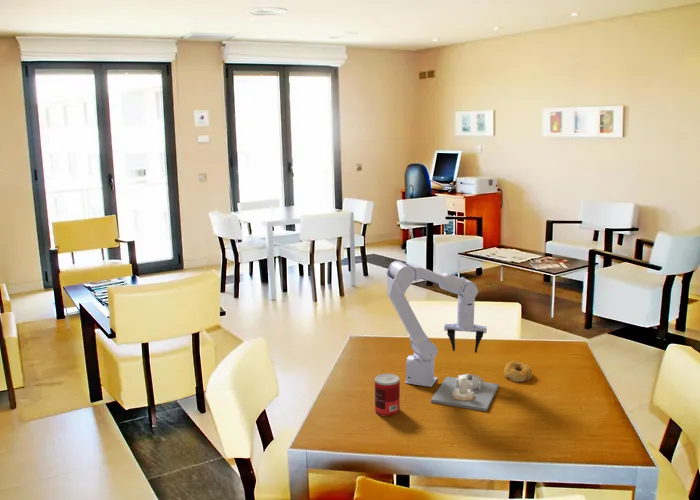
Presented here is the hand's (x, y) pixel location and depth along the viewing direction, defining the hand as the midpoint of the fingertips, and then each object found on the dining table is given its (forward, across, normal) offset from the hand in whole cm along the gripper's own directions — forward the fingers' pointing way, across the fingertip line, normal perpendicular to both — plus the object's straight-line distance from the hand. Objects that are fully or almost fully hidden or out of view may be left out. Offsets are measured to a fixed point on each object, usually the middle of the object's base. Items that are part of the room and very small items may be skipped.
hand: (464, 350), depth 227 cm
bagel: (+10, +19, +3) cm, 21 cm away
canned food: (+10, -22, -33) cm, 41 cm away
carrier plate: (+9, +1, -16) cm, 18 cm away
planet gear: (+8, +1, -19) cm, 21 cm away
